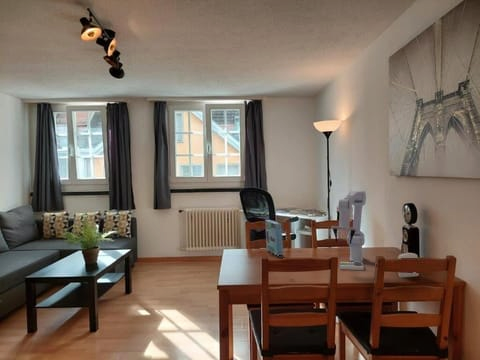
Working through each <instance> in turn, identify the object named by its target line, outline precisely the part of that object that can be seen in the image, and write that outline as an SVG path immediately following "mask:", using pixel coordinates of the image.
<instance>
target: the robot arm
mask: <svg viewBox="0 0 480 360" xmlns="http://www.w3.org/2000/svg"><path fill="white" fill-rule="evenodd" d="M366 194H367V193H366V191H365V190H356V191H355V190H353V191H352V190H349V191H348V194H347V195H346V196H345V197H344V198H343V199H342V198H341V199H339V200H338V210H339V211H338V212H339V217H338V218H339V221H338V225H331V228H330V230H332V231H333V234H334V238H335V243H338V231H348V233H347V236H346V243H347V244H348V246H349V253H350V255H349V262H354V260H361V262H364V258H363V257H364V256H363V246H364V245H365V242H366V240H365V234H364V233H363V231H361V227H362V212H363V206H365V205H366V200H367V195H366ZM352 207H354V208H353V218H352V227H351V226H350V221H351V218H350V217H351V209H352Z"/></svg>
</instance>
